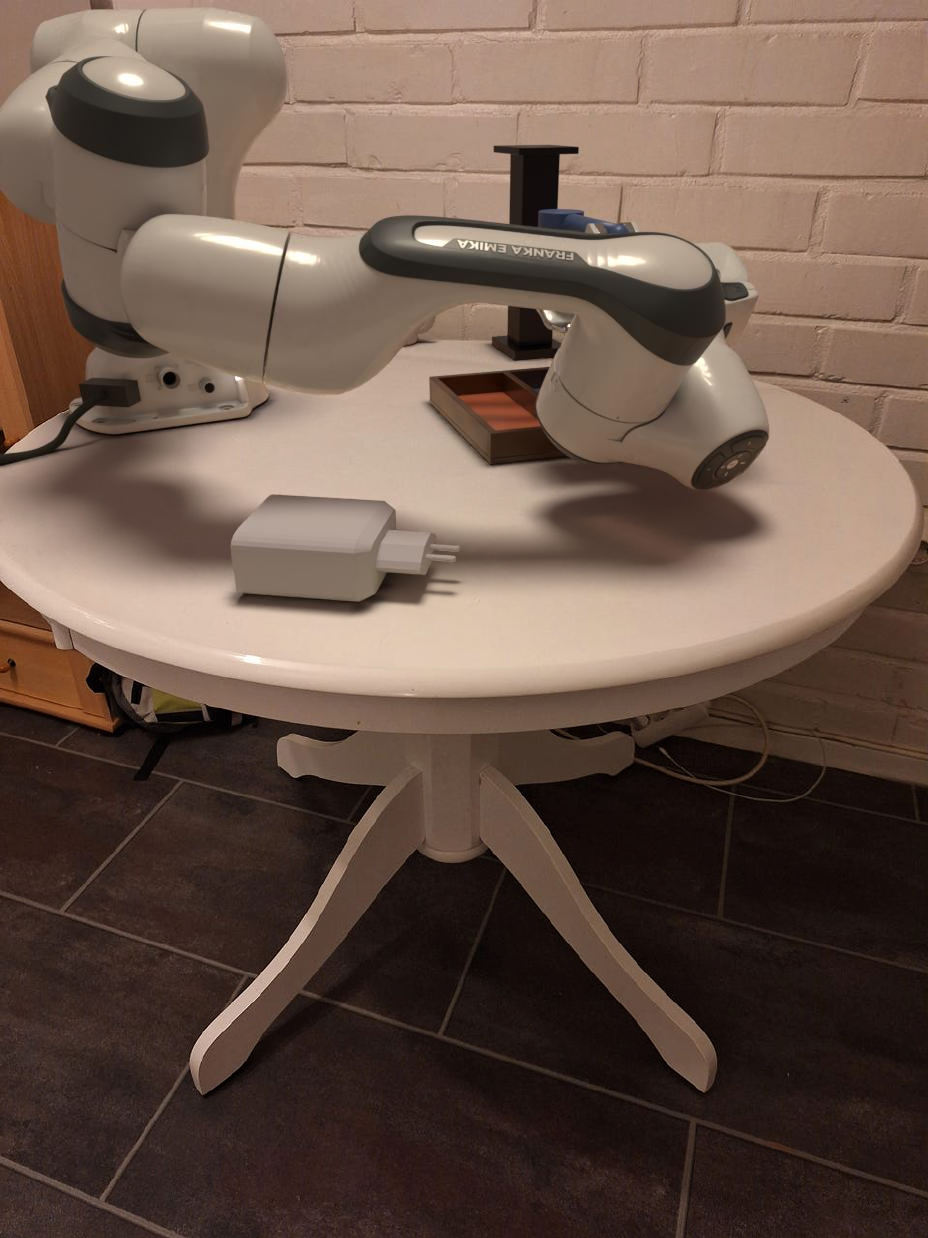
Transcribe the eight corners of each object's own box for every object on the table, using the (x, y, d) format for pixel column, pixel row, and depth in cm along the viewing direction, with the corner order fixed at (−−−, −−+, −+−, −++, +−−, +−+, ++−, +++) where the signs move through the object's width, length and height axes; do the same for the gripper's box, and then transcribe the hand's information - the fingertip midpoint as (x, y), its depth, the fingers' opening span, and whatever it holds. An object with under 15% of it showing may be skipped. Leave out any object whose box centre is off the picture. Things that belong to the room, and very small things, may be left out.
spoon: (645, 247, 85) (647, 224, 84) (598, 250, 84) (600, 226, 83) (572, 228, 100) (573, 208, 99) (531, 229, 98) (532, 209, 97)
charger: (446, 615, 62) (236, 599, 64) (467, 557, 70) (280, 545, 72) (445, 551, 59) (228, 537, 62) (467, 499, 67) (274, 488, 70)
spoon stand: (568, 355, 127) (579, 146, 114) (514, 360, 125) (519, 147, 112) (542, 341, 135) (549, 144, 123) (491, 344, 133) (493, 145, 121)
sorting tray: (661, 445, 93) (664, 415, 91) (490, 464, 88) (490, 433, 86) (574, 389, 112) (575, 364, 110) (429, 402, 107) (429, 376, 105)
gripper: (542, 364, 80) (499, 262, 86) (747, 347, 85) (691, 252, 91) (559, 305, 74) (511, 201, 81) (776, 292, 80) (715, 195, 86)
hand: (608, 228), depth 86 cm, fingers closed on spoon, 2 cm apart
